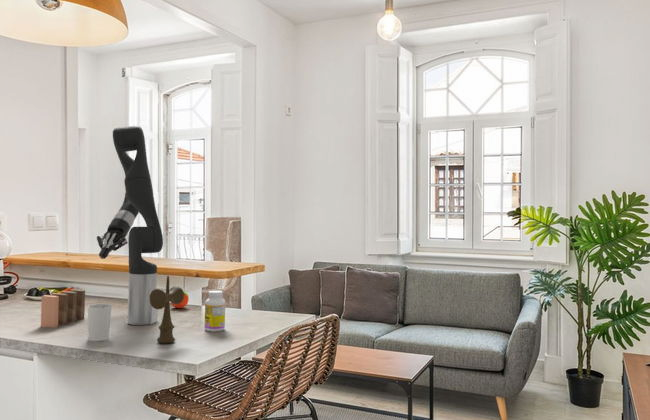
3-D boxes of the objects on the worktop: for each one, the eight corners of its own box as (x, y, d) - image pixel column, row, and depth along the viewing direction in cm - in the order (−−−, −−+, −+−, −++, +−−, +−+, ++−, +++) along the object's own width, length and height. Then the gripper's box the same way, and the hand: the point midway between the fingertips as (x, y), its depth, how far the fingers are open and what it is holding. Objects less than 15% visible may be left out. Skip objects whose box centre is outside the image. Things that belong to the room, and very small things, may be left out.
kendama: (147, 344, 160) (149, 276, 160) (168, 338, 169) (170, 273, 169) (163, 347, 158) (165, 278, 158) (184, 340, 167) (186, 275, 167)
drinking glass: (93, 335, 169) (94, 303, 169) (114, 336, 169) (115, 304, 169) (82, 341, 162) (83, 307, 162) (104, 342, 162) (105, 308, 162)
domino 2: (54, 322, 185) (55, 293, 185) (67, 323, 184) (68, 294, 184) (50, 323, 183) (51, 293, 183) (63, 324, 182) (64, 294, 182)
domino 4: (71, 317, 194) (72, 289, 194) (84, 318, 193) (85, 290, 193) (68, 318, 192) (69, 290, 192) (81, 319, 191) (81, 291, 191)
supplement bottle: (202, 328, 184) (204, 290, 184) (222, 327, 186) (223, 289, 186) (205, 332, 178) (207, 293, 178) (226, 331, 180) (227, 292, 180)
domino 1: (44, 325, 181) (45, 295, 181) (57, 326, 180) (58, 296, 180) (40, 326, 179) (41, 295, 179) (54, 327, 178) (55, 296, 178)
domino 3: (63, 319, 190) (64, 291, 189) (75, 321, 188) (76, 292, 188) (59, 320, 188) (60, 291, 188) (72, 322, 187) (73, 292, 187)
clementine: (194, 308, 218) (194, 290, 218) (182, 310, 212) (183, 292, 212) (178, 306, 222) (178, 288, 222) (166, 308, 216) (167, 290, 215)
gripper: (103, 216, 216) (81, 249, 205) (133, 218, 214) (113, 251, 202) (110, 229, 222) (90, 262, 210) (140, 231, 219) (121, 264, 207)
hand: (101, 257), depth 206 cm, fingers closed
